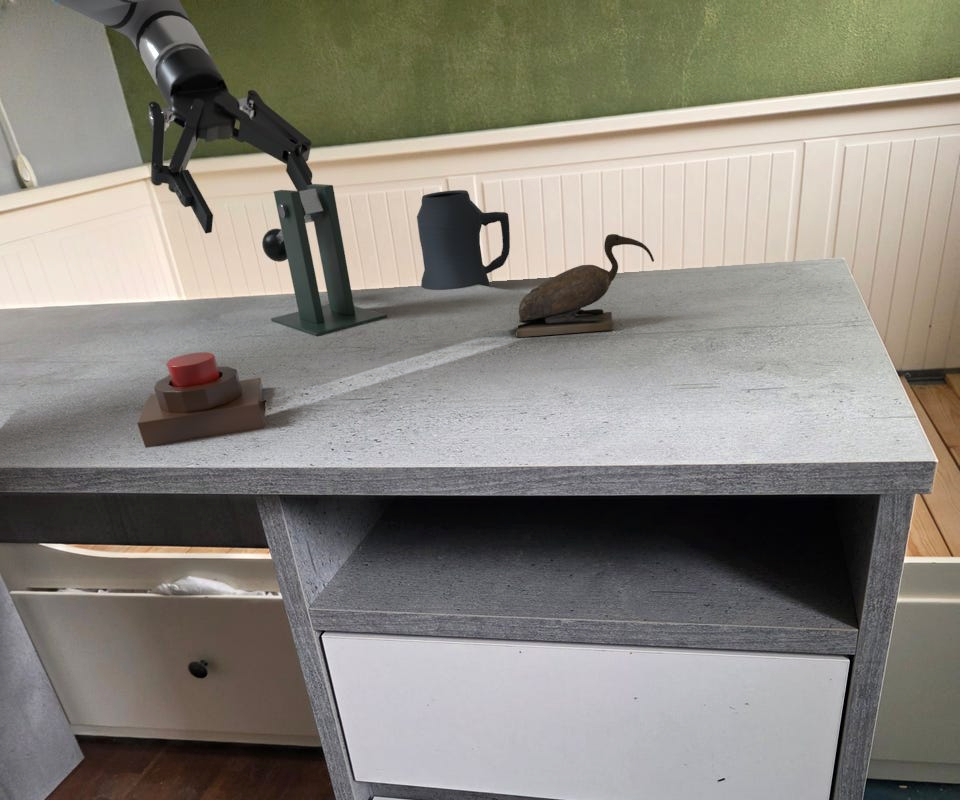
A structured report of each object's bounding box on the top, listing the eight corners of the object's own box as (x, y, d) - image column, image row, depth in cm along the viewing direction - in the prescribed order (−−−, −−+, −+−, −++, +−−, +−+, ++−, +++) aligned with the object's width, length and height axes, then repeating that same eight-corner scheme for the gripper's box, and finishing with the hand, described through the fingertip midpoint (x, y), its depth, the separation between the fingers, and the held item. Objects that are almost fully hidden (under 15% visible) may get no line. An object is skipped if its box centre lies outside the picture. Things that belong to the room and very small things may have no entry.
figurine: (652, 316, 92) (653, 226, 87) (654, 327, 88) (655, 234, 83) (519, 326, 94) (513, 239, 89) (516, 338, 90) (509, 247, 86)
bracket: (273, 331, 104) (242, 193, 96) (340, 314, 108) (315, 180, 100) (319, 347, 96) (288, 197, 87) (389, 328, 100) (366, 182, 91)
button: (171, 393, 74) (163, 369, 72) (176, 380, 77) (169, 356, 76) (219, 385, 74) (212, 361, 73) (222, 373, 77) (215, 349, 76)
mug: (416, 302, 109) (402, 203, 103) (424, 286, 116) (412, 192, 110) (512, 294, 107) (504, 192, 101) (514, 278, 115) (507, 182, 109)
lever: (265, 268, 105) (254, 238, 105) (292, 262, 107) (281, 233, 106) (301, 221, 93) (289, 186, 92) (331, 215, 95) (319, 181, 94)
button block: (145, 448, 74) (129, 401, 71) (156, 418, 80) (143, 374, 78) (264, 428, 75) (252, 382, 72) (266, 400, 81) (255, 357, 79)
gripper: (274, 88, 115) (348, 218, 113) (83, 111, 104) (161, 256, 102) (281, 35, 109) (361, 173, 106) (78, 54, 98) (162, 208, 95)
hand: (263, 214), depth 104 cm, fingers open, 13 cm apart
